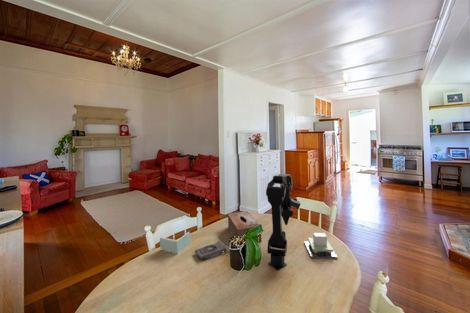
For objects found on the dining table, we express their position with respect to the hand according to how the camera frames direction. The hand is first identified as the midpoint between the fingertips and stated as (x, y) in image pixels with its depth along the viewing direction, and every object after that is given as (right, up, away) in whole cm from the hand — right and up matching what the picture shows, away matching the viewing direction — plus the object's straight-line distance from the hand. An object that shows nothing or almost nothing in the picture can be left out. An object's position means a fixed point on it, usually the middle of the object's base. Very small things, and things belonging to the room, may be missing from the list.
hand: (285, 221), depth 125 cm
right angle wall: (-64, -15, 0) cm, 66 cm away
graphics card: (-43, -15, -6) cm, 46 cm away
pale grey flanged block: (+17, -10, -9) cm, 22 cm away
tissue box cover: (-24, -12, +13) cm, 30 cm away
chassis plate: (+17, -13, -9) cm, 23 cm away
